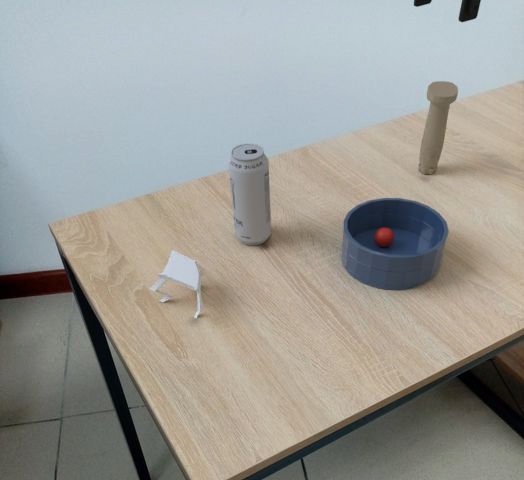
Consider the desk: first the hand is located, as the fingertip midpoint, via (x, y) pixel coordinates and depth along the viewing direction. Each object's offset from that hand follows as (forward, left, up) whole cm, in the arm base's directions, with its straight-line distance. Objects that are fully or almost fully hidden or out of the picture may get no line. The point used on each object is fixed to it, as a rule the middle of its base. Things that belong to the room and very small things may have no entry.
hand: (444, 12), depth 81 cm
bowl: (+21, +18, -26) cm, 38 cm away
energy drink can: (+36, +1, -26) cm, 45 cm away
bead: (+20, +16, -24) cm, 35 cm away
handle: (-2, +1, -26) cm, 27 cm away
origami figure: (+52, +9, -26) cm, 59 cm away
